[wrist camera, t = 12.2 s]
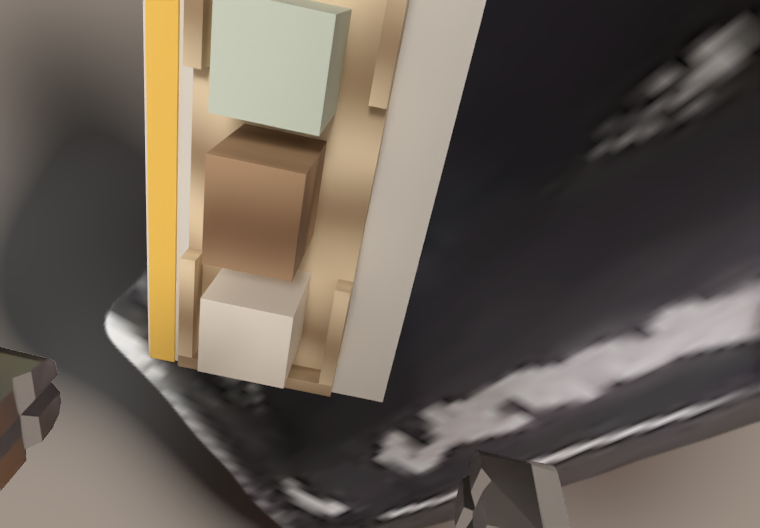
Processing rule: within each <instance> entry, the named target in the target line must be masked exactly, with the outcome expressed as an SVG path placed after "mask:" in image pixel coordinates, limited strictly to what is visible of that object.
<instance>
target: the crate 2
mask: <svg viewBox="0 0 760 528" xmlns="http://www.w3.org/2000/svg"><path fill="white" fill-rule="evenodd" d="M310 279H311V272H307V271H302V270H297V272H296V274H295V276H294V279H293V281H292V282H288V281H283V280H278V279H274V278H269V277H264V276H259V275H254V274H249V273H245V272H240V271H235V270H230V269H225V268H222V269H221V270H220V272H219V273H218V275H217V276H216V277H215V279H214V280H213V282H212V283H211V284H210V286H209V287H208V288H207V290H206V291H205V293H204V294H203V295H202V297H201V298H200V322H199V346H198V370H197V371H200V372H204V373H209V374H214V375H219V376H224V377H229V378H234V379H239V380H244V381H249V382H253V383H258V384H263V385H268V386H273V387H278V388H284V386H285V383H286V380H287V377H288V374H289V371H290V369H291V366H292V363H293V360H294V357H295V354H296V352H297V349H298V346H299V343H300V340H301V337H302V331H303V324H304V318H305V311H306V305H307V298H308V292H309V285H310Z"/></svg>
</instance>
